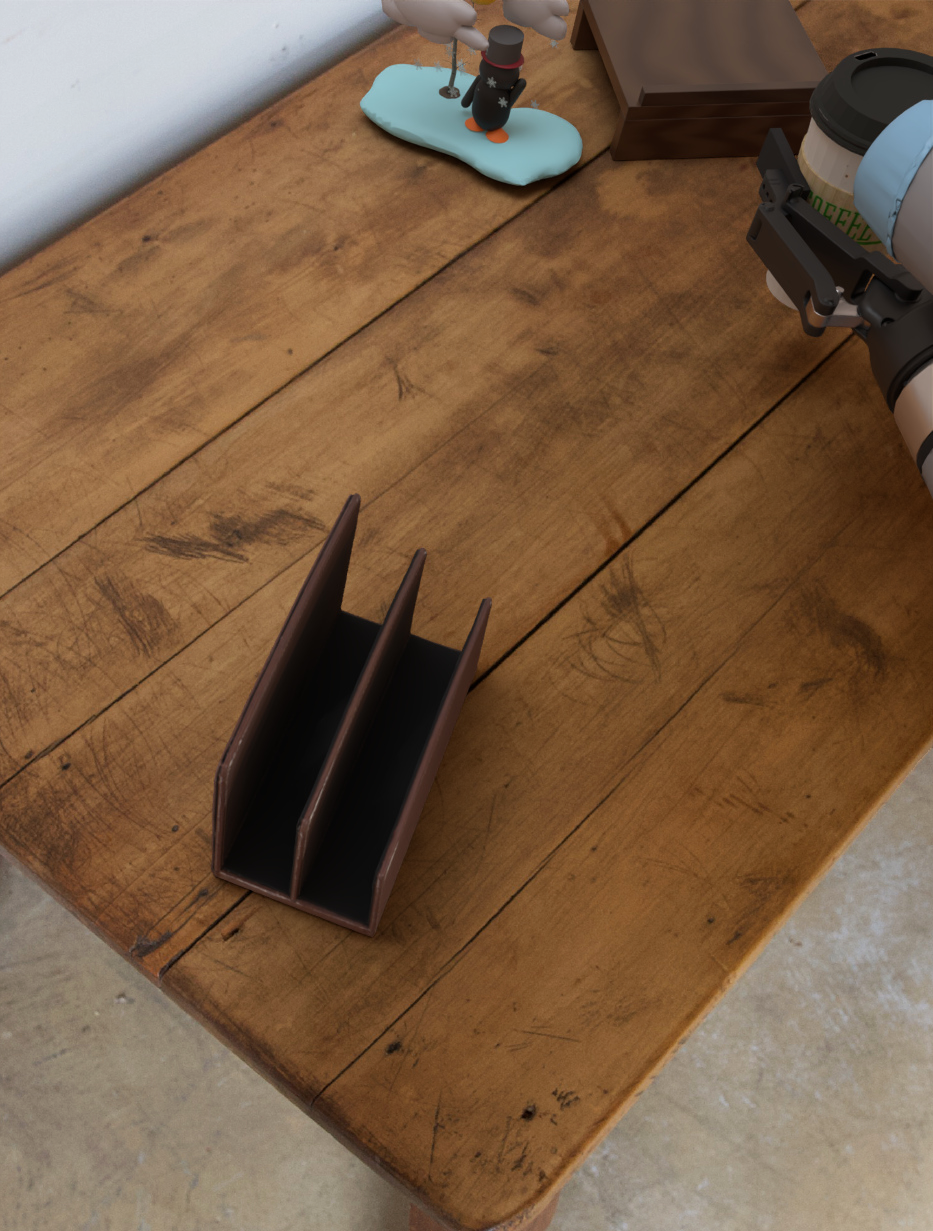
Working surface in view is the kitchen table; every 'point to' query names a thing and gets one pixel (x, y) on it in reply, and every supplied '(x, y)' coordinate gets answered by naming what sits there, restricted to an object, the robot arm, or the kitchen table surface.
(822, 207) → the coffee cup
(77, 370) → the kitchen table surface
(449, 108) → the penguin figurine
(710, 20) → the brown wooden stand
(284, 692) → the letter holder
